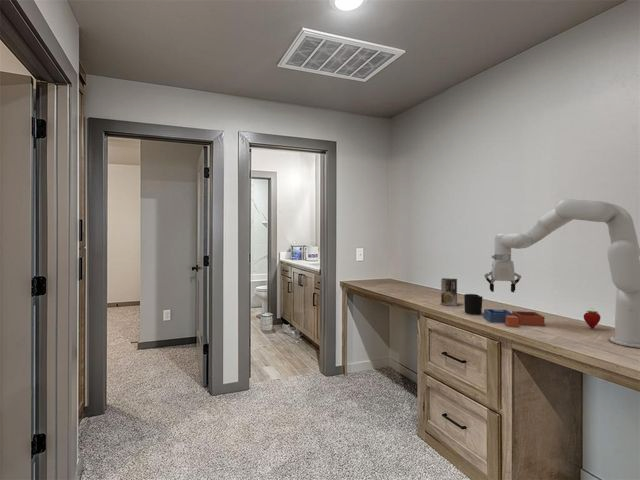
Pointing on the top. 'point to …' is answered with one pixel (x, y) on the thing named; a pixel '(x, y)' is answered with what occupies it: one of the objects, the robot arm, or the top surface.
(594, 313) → the strawberry
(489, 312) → the blue bin
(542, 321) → the terracotta bin
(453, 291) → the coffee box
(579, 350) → the top surface
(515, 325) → the terracotta block
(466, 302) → the pen holder
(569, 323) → the top surface
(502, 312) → the blue block
